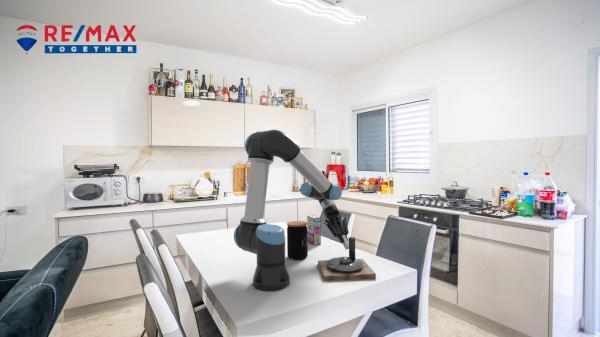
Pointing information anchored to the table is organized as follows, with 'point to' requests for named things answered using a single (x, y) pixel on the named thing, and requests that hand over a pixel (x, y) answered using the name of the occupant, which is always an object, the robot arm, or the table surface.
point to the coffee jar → (297, 240)
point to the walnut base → (334, 275)
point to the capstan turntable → (346, 261)
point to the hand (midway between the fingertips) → (347, 248)
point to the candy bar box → (314, 229)
